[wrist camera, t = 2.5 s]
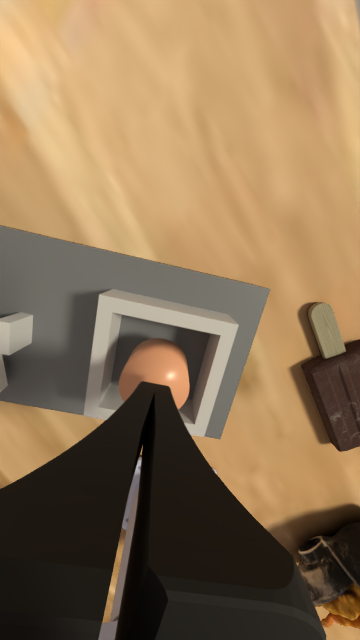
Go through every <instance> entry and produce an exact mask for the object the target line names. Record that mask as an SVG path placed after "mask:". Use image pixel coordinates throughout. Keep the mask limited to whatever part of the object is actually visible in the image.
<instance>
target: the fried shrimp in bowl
mask: <svg viewBox="0 0 360 640" xmlns="http://www.w3.org/2000/svg"><path fill="white" fill-rule="evenodd" d="M298 552H299V554H300V556H301V557H302V560H301V561H300V563H299V565H298V569H299V571H300V573H301V575H302V577H303V579H304V581H305V584H306V586H307V588H308V591H309V593H310V596H311V598H312V601H313V603H314V606H315V607H316V606H319V607H320V606H323V607H324V608H325V609H326V610H328V611H329V612H330V613H329V614H328V616H327V617H326V618H325V619H322V621H321V624H322V626H323V628H328V627H330V626H331V625H332V624H334V623H338V624H340V625H344V626H352V627H354V628H359V629H360V522H354V523H351V524H348V525H346V526H344V527H343V528H342V529H341V530H339V531H338V532H337V533H336V535H335V536H332V537H327V536H317V537H314V538H311V539H309V540H307V541H306V542H304V543H303V544H302V545H301V547H300V548H299V550H298Z"/></svg>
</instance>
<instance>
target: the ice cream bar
mask: <svg viewBox="0 0 360 640" xmlns="http://www.w3.org/2000/svg"><path fill="white" fill-rule="evenodd" d="M308 317H309V320H310V323H311V326H312V329H313V332H314V334H315V337H316V340H317V343H318V346H319V349H320V351H321V354H322V355H321V356H318V357H316V358H313V359H311V360H310V361H308V362H306V363H304V364H303V365H301V366H302V368H303V371H304V373H305V376H306V379H307V381H308V384H309V386H310V389H311V391H312V394H313V397H314V399H315V402H316V404H317V407H318V410H319V412H320V415H321V417H322V420H323V422H324V425H325V428H326V430H327V433H328V435H329V438H330V441H331V443H332V444H333V445H334V446H335V447H336V449H337V450H338V451H340V452H341V451H348V450H350V449H353V448H356V447H359V446H360V340H357V341H355V342H352V343H349V344H347V345H345V346H344V343H343V340H342V337H341V334H340V330H339V327H338V324H337V321H336V318H335V315H334V312H333V309H332V307H331V306H330V305H329V304H326V303H323V302H318V303H315V304H314V305H312V306H311V307H310V309H309V311H308Z"/></svg>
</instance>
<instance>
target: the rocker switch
mask: <svg viewBox="0 0 360 640" xmlns="http://www.w3.org/2000/svg"><path fill="white" fill-rule="evenodd" d="M7 386H8V383H7V378H6V372H5V367H4V362H3V357H2V354H0V392H1V391H2V390H4V389H5V388H6V387H7Z"/></svg>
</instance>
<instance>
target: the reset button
mask: <svg viewBox="0 0 360 640" xmlns="http://www.w3.org/2000/svg"><path fill="white" fill-rule="evenodd" d="M142 381H145V382H150V383H155V384H161V385H166V386H169V387H170V389H171V392H172V395H173V398H174V401H175V403H176V406H177V408H178V409H180V408H181V407H182V405H183V404H184V403H185V401H186V399H187V397H188V394H189V387H190V385H189V376H188V367H187V360H186V356H185V354H184V352H183V351H182V349H181V348H180V347H179V346H178V345H176V344H175V343H173V342H172V341H169V340H166V339H162V338H153V339H148V340H146V341H144V342H142V343H140V344H139V345H138V346H137V347H136V348H135V349H134V350H133V352H132V353H131V355H130V357H129V359H128V361H127V363H126V365H125V367H124V369H123V371H122V373H121V376H120V379H119V392H120V396H121V398H122V400H123V401H124V402H125V401H126V400H127V399H128V398H129V396H130V395H131V394H132V393H133V392H134V390H135V389H136V388H137V386H138V384H139V383H140V382H142Z"/></svg>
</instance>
